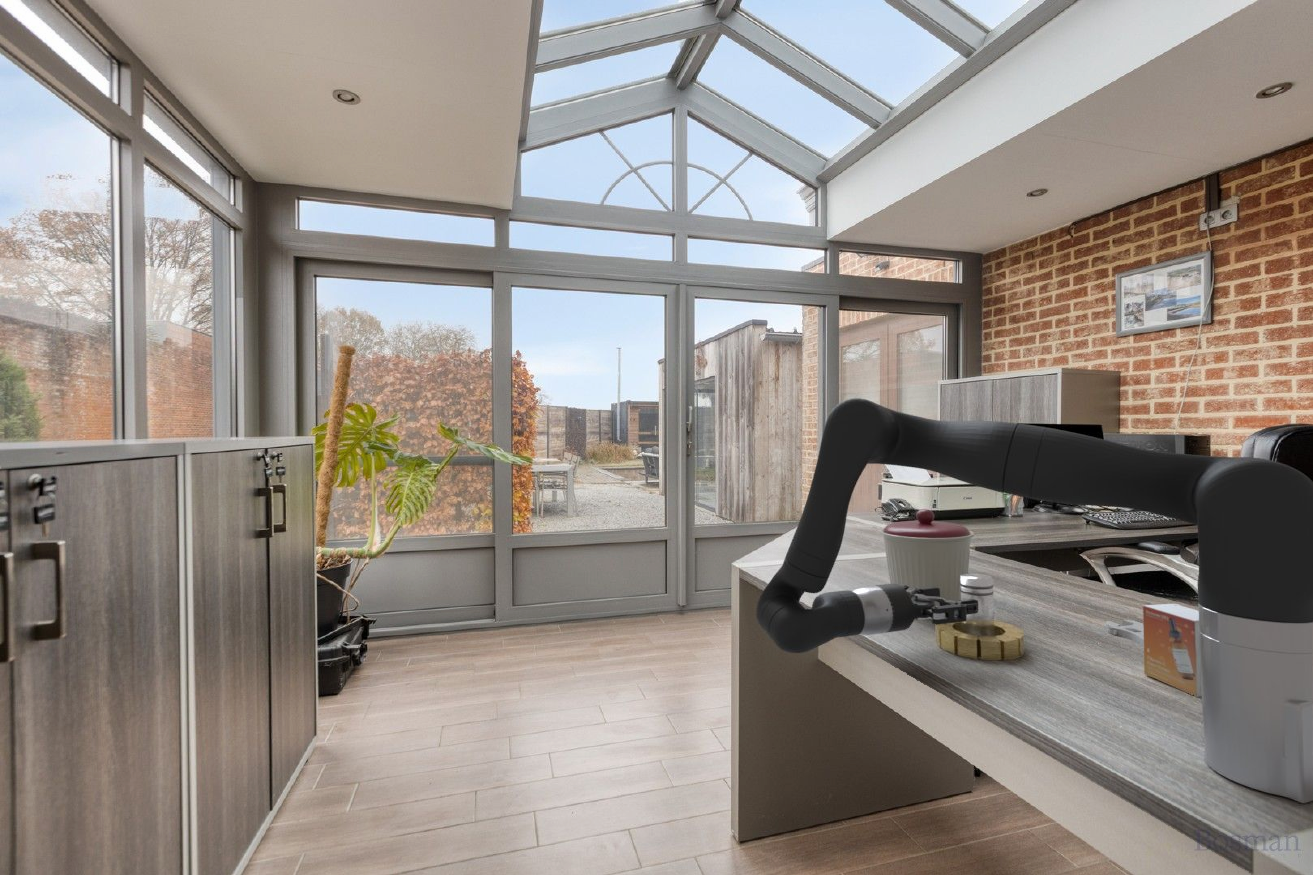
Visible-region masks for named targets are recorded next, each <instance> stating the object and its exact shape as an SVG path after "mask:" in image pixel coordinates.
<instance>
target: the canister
mask: <svg viewBox="0 0 1313 875" xmlns="http://www.w3.org/2000/svg"><path fill="white" fill-rule="evenodd" d="M915 517H916V520H906V521H897V522H891V523H889V524H887V525H886V526H885V527H883V528H881V529H880V530H879V533H880V534H881V535H882V536H883V544H884V551H885V556H886V565H887V571H888V576H889V582H890V583H889V584H893V583H894V584H898V585H900V586H904V585H907V586H909V588H914V587H917V588H919V590H920V589H922V588H931V587H937V588H939V589H940V597H943V598H944V600H950V601H959V600H961V592H960V575H962V574H969V565H970V552H971V539H972V538H974V536H975V532H974V531H972V530H969V529H968V528H967V527H966V526H964V525H962V524H958V523H953V522H947V521H946V522H945V521H937V520H935V513H934V512H933V511H932V510H930V509H922V508H921V509H919V510H918V511H916V513H915ZM934 602H935V606H939V602H936V601H934ZM945 606H946V605H945Z"/></svg>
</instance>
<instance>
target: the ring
mask: <svg viewBox="0 0 1313 875" xmlns="http://www.w3.org/2000/svg"><path fill="white" fill-rule="evenodd" d="M994 625H995V636H976V635H970V634H965V633H962V622H956V623H946V624H938V625H935V624H934V627H935V634H934V635H935V643H936V644H937V645H938V647H939V648H941V649H942V650H944V651H947V652H948V653H951V654H953V655H956V654H957V656H960V657H965V658H970V659H974V660H975V659H976V660H978V659H981V660H984V661H1003V660H1004V661H1009V660H1014V659H1019V657H1020V658H1022V656H1023V655H1024V653H1026V651H1025V650H1026V649H1025V648H1026V647H1025V646H1026V645H1025V633H1024V632H1023V631H1022V630H1021V629H1020V628H1019V627H1016V626H1015V625H1012V624H1009V623H1006V622H1003V621H998V620H995V619H994Z"/></svg>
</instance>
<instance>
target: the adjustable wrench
mask: <svg viewBox="0 0 1313 875" xmlns="http://www.w3.org/2000/svg"><path fill="white" fill-rule="evenodd" d="M1105 627H1106V628H1105V629H1106V631H1107V632H1108V633H1109V635H1115V636H1119V637H1123V638H1127V639H1130V640H1132V641H1134V642H1136V643H1137V644H1139V645H1141V646H1142V647H1143V646H1144V631H1143V622H1139V621H1134V620H1128V619H1122V625H1121V624H1119V623H1117V622H1114V621H1111V620H1106V621H1105Z"/></svg>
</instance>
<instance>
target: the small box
mask: <svg viewBox="0 0 1313 875" xmlns="http://www.w3.org/2000/svg"><path fill="white" fill-rule="evenodd" d="M1142 614H1143V615H1142V621H1143V622H1142V624H1143V631H1144V647H1143V667H1144V668H1143V670H1144V671H1143V672H1144V673H1143V674H1144V675H1145V676H1148V677H1150V678H1154V679H1155V680H1158V681H1160V682H1162V683H1165V684H1166V685H1169V686H1171V687H1173V688H1175V689H1178V690H1181V691H1182V692H1184V693H1187V694H1188V693H1189V694H1188V695H1190V694H1191V695H1190V696H1192V695H1194V696H1193V697H1195V698H1202V687H1201V661H1200V636H1199V609H1198V610H1197V609H1194V608H1191V607H1186V606H1184V605H1181V604H1178V603H1165V604H1164V603H1163V604H1162V603H1161V604H1145V605H1144V604H1143V605H1142Z"/></svg>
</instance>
